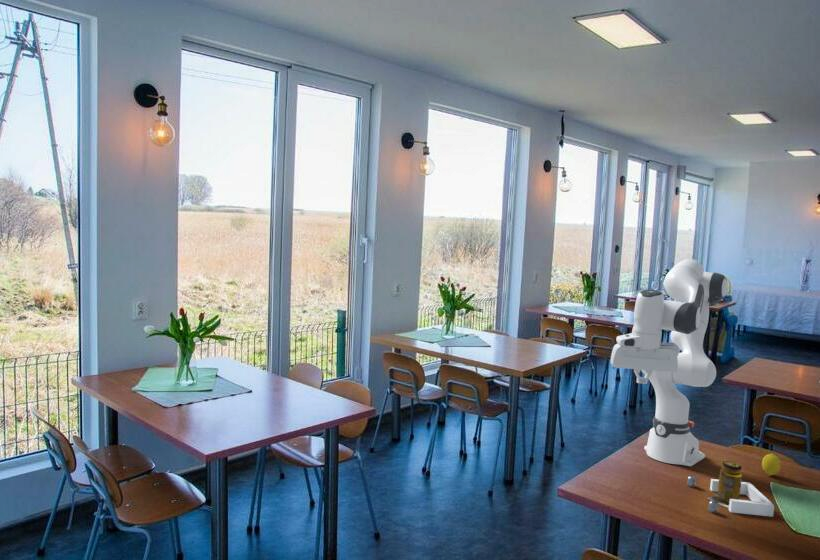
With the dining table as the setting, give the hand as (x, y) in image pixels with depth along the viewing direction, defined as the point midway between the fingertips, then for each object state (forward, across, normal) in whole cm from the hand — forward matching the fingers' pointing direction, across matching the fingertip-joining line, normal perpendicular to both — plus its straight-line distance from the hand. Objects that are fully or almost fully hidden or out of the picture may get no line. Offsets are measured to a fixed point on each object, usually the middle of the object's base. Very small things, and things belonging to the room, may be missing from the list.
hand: (641, 383), depth 194 cm
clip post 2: (+33, -19, +16) cm, 42 cm away
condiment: (+33, -26, +8) cm, 43 cm away
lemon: (+33, -51, -18) cm, 64 cm away
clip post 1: (+33, -19, -2) cm, 38 cm away
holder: (+33, -31, +7) cm, 46 cm away
